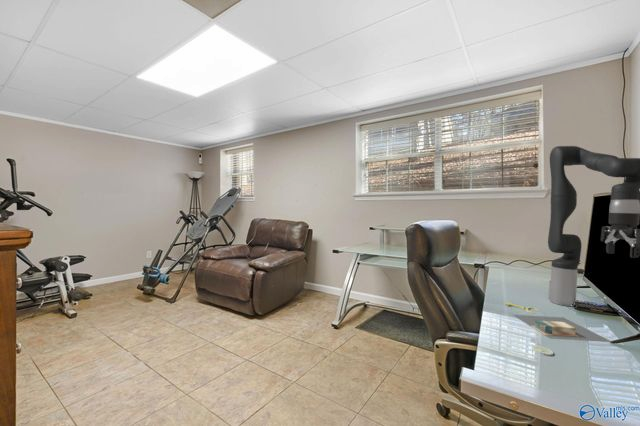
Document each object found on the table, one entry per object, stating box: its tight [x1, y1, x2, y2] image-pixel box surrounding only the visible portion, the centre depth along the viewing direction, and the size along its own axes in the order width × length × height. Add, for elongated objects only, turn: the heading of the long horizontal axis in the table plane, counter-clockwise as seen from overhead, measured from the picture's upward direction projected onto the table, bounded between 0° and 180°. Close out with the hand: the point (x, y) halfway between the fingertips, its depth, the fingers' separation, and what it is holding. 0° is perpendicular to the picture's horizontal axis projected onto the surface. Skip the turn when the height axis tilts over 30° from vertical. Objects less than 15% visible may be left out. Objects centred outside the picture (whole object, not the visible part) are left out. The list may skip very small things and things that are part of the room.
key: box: [505, 301, 539, 314], centre depth 118 cm, size 7×12×2 cm, turn 64°
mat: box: [512, 314, 613, 343], centre depth 100 cm, size 20×20×1 cm
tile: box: [535, 320, 576, 335], centre depth 97 cm, size 10×5×2 cm, turn 85°
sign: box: [531, 344, 554, 357], centre depth 88 cm, size 5×1×15 cm
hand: (621, 255), depth 100 cm, fingers open, 8 cm apart
